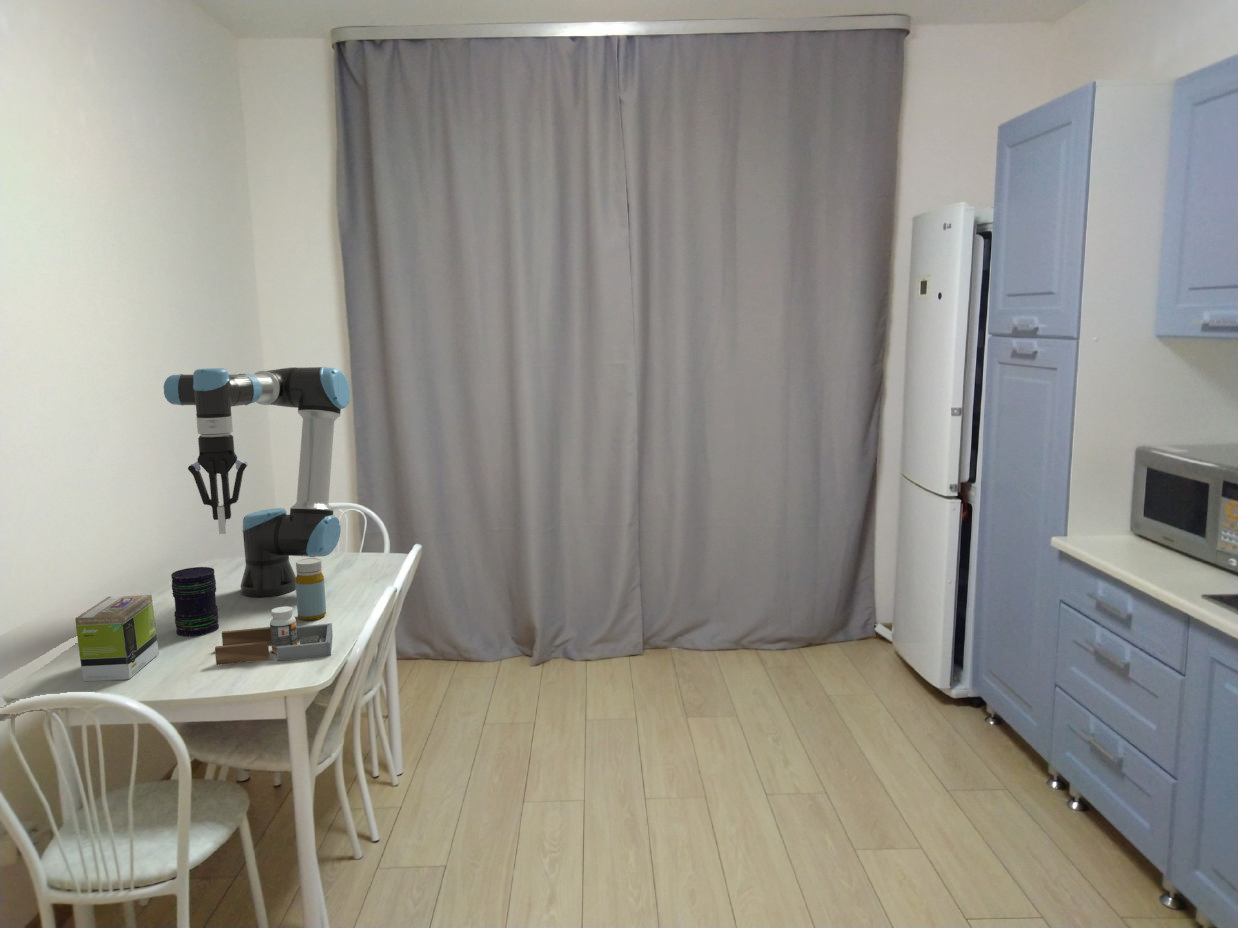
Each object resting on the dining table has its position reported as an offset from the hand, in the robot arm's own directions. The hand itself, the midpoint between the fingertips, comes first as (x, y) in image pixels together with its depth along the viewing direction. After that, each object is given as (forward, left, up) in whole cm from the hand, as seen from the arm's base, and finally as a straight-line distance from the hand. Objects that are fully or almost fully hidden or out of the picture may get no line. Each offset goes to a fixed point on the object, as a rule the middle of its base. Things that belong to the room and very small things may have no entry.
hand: (223, 532), depth 209 cm
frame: (+12, +18, -26) cm, 34 cm away
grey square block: (+13, +19, -27) cm, 35 cm away
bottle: (-11, +18, -27) cm, 34 cm away
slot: (+12, +5, -26) cm, 29 cm away
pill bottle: (+12, +13, -27) cm, 32 cm away
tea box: (+13, -21, -27) cm, 36 cm away
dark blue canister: (-9, -9, -27) cm, 29 cm away
